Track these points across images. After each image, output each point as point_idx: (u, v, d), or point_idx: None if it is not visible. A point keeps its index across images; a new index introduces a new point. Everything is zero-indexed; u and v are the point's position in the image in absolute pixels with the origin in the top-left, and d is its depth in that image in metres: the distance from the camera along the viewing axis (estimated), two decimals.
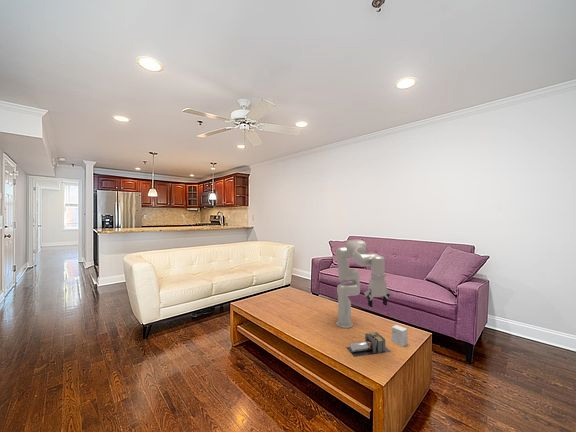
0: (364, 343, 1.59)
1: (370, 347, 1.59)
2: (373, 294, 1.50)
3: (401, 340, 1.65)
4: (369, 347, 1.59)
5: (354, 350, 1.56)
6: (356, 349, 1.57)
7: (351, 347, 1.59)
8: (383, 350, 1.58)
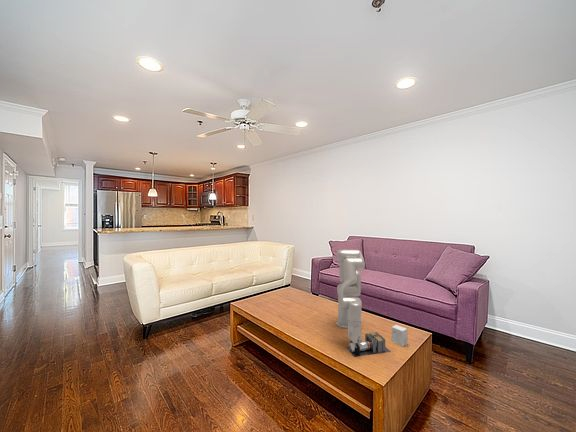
0: (364, 342, 1.60)
1: (370, 346, 1.59)
2: None
3: (401, 340, 1.65)
4: (369, 346, 1.59)
5: (354, 349, 1.57)
6: None
7: (350, 346, 1.59)
8: (383, 350, 1.58)
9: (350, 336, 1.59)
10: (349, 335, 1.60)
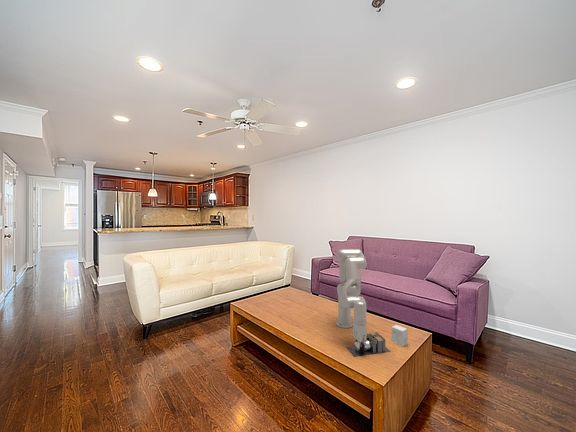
0: (368, 341, 1.60)
1: None
2: None
3: (401, 340, 1.65)
4: None
5: (359, 348, 1.57)
6: None
7: (355, 345, 1.60)
8: (383, 350, 1.58)
9: (355, 335, 1.60)
10: (354, 334, 1.61)
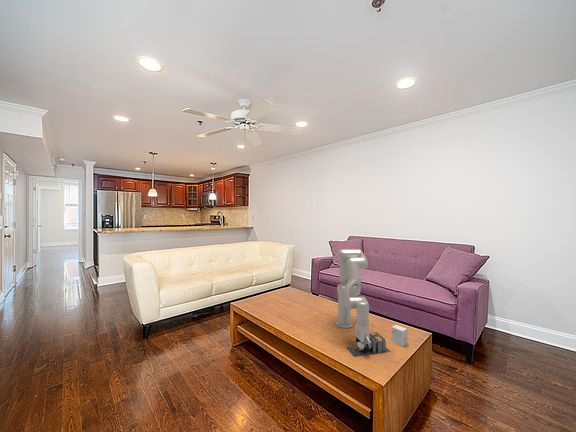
0: None
1: None
2: None
3: (401, 340, 1.65)
4: (376, 345, 1.60)
5: (361, 348, 1.58)
6: (363, 347, 1.58)
7: (357, 345, 1.60)
8: (383, 350, 1.58)
9: (357, 335, 1.60)
10: (357, 334, 1.61)
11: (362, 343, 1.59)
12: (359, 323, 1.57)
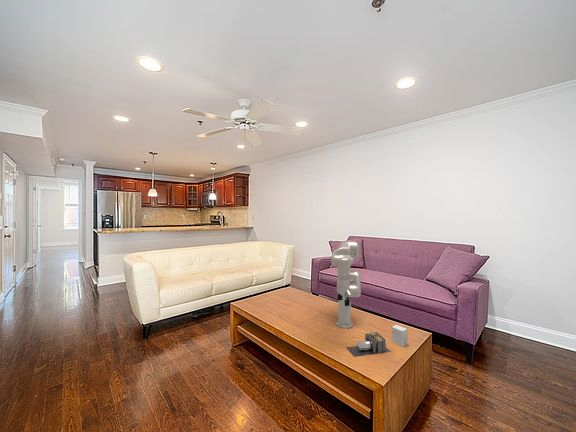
0: (370, 341, 1.62)
1: None
2: None
3: (401, 340, 1.65)
4: (376, 344, 1.60)
5: (361, 347, 1.58)
6: (363, 346, 1.58)
7: (357, 345, 1.61)
8: (383, 350, 1.58)
9: (339, 290, 1.66)
10: (338, 290, 1.67)
11: (362, 343, 1.60)
12: (340, 278, 1.63)
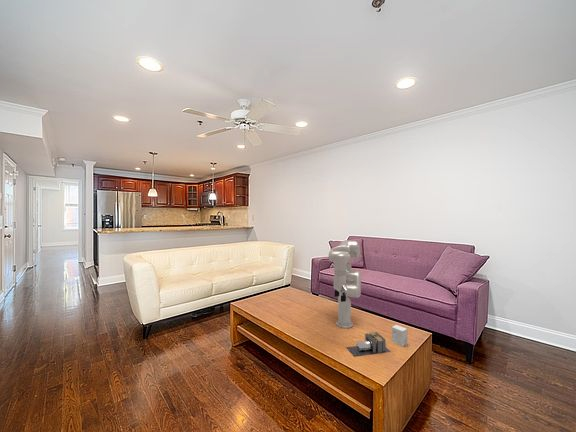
0: (370, 341, 1.62)
1: None
2: None
3: (401, 340, 1.65)
4: (376, 344, 1.60)
5: (361, 347, 1.58)
6: (363, 346, 1.58)
7: (357, 345, 1.61)
8: (383, 350, 1.58)
9: (335, 286, 1.67)
10: (335, 285, 1.68)
11: (362, 343, 1.60)
12: (336, 274, 1.64)
